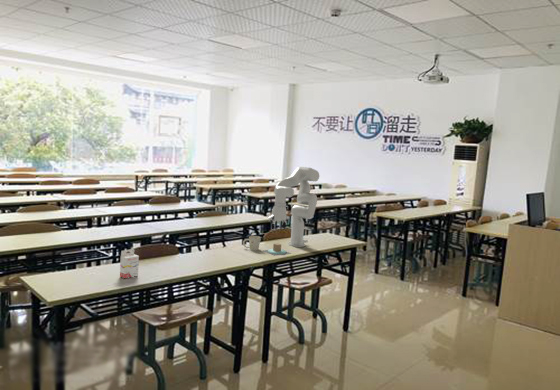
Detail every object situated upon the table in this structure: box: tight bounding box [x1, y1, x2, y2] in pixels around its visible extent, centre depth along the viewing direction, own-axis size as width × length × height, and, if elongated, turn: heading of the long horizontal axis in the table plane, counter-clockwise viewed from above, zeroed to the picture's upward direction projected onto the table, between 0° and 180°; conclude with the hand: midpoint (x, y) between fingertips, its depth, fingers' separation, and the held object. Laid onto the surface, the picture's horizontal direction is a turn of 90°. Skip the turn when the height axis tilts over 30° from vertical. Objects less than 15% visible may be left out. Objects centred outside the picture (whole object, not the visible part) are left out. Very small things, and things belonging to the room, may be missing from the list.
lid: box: [267, 242, 287, 255], centre depth 318 cm, size 13×13×6 cm
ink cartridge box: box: [119, 248, 140, 279], centre depth 245 cm, size 9×5×15 cm, turn 141°
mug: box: [242, 235, 261, 251], centre depth 322 cm, size 8×13×10 cm, turn 89°
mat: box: [262, 249, 292, 257], centre depth 318 cm, size 15×15×1 cm
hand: (278, 228), depth 316 cm, fingers open, 9 cm apart
